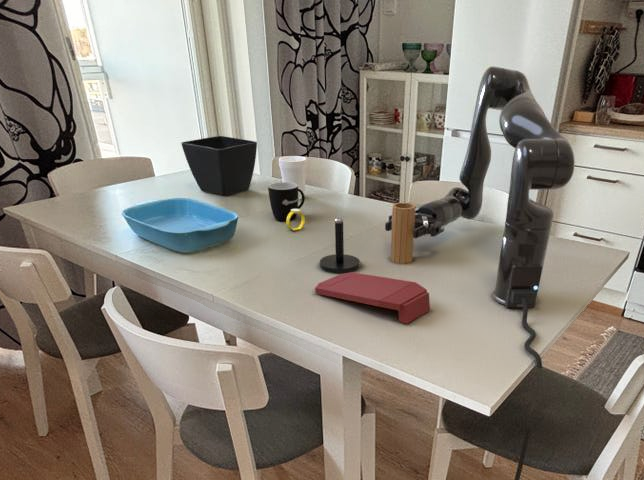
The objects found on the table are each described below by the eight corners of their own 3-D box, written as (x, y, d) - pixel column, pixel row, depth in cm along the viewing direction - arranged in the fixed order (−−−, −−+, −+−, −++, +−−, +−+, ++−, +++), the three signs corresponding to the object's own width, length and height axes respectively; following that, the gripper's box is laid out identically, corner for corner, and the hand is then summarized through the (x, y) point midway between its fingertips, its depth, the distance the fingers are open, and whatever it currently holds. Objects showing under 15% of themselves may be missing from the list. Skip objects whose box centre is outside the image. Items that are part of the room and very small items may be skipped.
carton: (314, 307, 119) (401, 327, 103) (310, 286, 116) (399, 304, 101) (349, 290, 126) (435, 306, 111) (347, 271, 124) (434, 284, 109)
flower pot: (262, 188, 193) (258, 140, 184) (225, 200, 179) (219, 148, 170) (226, 181, 201) (219, 135, 192) (188, 192, 188) (179, 142, 179)
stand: (360, 273, 127) (360, 224, 120) (319, 273, 126) (317, 224, 120) (359, 258, 135) (359, 211, 129) (320, 258, 135) (318, 211, 128)
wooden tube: (413, 263, 133) (416, 208, 125) (391, 263, 132) (393, 208, 125) (410, 255, 137) (414, 202, 130) (389, 255, 137) (391, 202, 130)
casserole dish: (113, 232, 150) (107, 207, 146) (181, 215, 164) (177, 192, 161) (185, 264, 130) (180, 237, 126) (256, 242, 144) (253, 216, 140)
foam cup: (278, 195, 186) (275, 157, 179) (303, 192, 189) (301, 155, 182) (286, 202, 179) (283, 162, 172) (311, 199, 182) (310, 160, 175)
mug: (281, 224, 158) (278, 190, 152) (265, 217, 163) (262, 185, 158) (313, 217, 164) (311, 184, 159) (296, 211, 170) (295, 179, 165)
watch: (290, 233, 151) (289, 213, 148) (285, 231, 153) (283, 210, 150) (307, 228, 155) (306, 209, 152) (301, 226, 156) (300, 206, 153)
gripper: (413, 197, 142) (377, 210, 131) (458, 206, 135) (425, 221, 124) (411, 224, 146) (377, 239, 135) (455, 234, 139) (423, 251, 128)
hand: (400, 230), depth 130 cm, fingers open, 8 cm apart
